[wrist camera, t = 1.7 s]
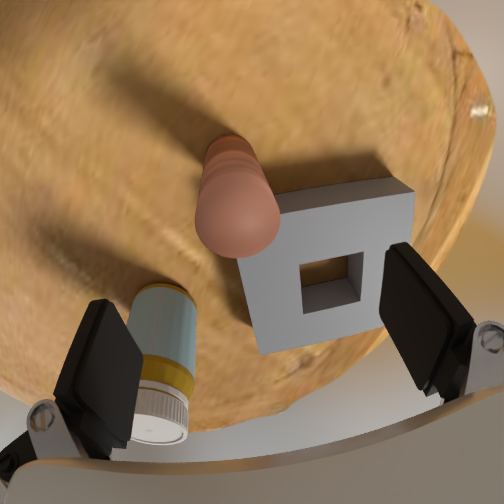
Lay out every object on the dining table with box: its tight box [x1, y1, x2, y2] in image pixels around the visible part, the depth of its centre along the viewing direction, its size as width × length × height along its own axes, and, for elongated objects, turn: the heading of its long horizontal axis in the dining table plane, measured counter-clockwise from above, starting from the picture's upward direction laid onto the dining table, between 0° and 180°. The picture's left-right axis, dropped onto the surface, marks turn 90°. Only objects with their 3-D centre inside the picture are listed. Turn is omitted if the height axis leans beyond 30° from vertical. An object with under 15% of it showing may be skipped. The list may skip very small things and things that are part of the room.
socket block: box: [237, 176, 415, 355], centre depth 29 cm, size 16×16×4 cm
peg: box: [195, 135, 281, 258], centre depth 19 cm, size 4×4×12 cm
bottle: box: [126, 283, 197, 445], centre depth 26 cm, size 7×7×15 cm
